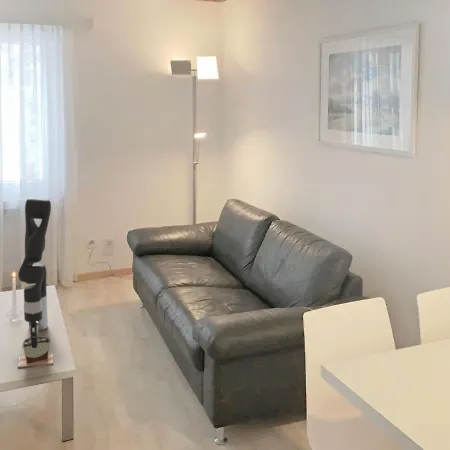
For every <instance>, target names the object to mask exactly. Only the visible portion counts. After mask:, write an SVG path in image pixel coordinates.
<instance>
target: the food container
mask: <svg viewBox="0 0 450 450" xmlns="http://www.w3.org/2000/svg"><path fill="white" fill-rule="evenodd" d="M34 337H36V336H34ZM50 343H51V340H50V337H48V336H44V335H37V347H36V348H32V342H31V336H30V337H28V338H26V339H24V340H23V342H22V347H21V348H22V349H24V356H25V357H26V363H27V364H31V363H35V362H39V361H44V360H48V353H50V352H49V351H50Z"/></svg>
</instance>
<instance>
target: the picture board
mask: <svg viewBox="0 0 450 450" xmlns="http://www.w3.org/2000/svg"><path fill="white" fill-rule="evenodd" d="M17 362H18V365H17V369H18V370H19V369H27V368H29V369H30V368H37V367H38V368H39V367H47V366H54V353H53V352H49V353H48V360H44V361H39V362H35V363H31V364H27V363H26V357H25V355H19V356H18V360H17Z"/></svg>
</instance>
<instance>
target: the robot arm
mask: <svg viewBox="0 0 450 450" xmlns="http://www.w3.org/2000/svg"><path fill="white" fill-rule="evenodd" d="M51 210H52V203H51V201H50V200H49V199H45V198H35V197H29V198H27V200H26V201H25V205H24V217H25V218H24V219H25V234H24V259H23V261H22V263H21V266H20V267H19V271H18V279H19V280H20V282H22V283H25V284H27V285H29V286H26V287H24V289H23V300H24V301H23V312H24V313H23V316H24V321H26V323H28V328H29V336H30V337H31V342H32V348H36V347H37V336H39V335H38V334H39V331H43V330H45V329H47V328H48V327H49V326H48V324H49V322H48V321H49V320H48V298H47V297H48V296H47V268H46V266H45V264H42V263H41V264H36V263H39V262H41V261H42V259H43V252H45V249H46V234H47V230H48V226H49V222H50V221H49V220H50V216H51ZM35 219H36V220H41V222H40V224H39V225H38V224H37V223H36V221H35ZM32 284H33V285H32ZM34 336H36V337H34Z"/></svg>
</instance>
